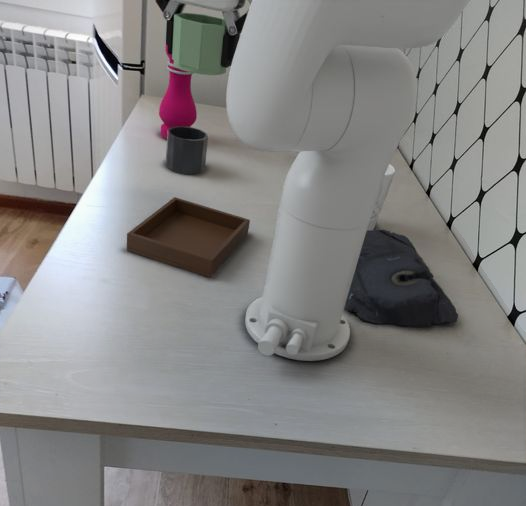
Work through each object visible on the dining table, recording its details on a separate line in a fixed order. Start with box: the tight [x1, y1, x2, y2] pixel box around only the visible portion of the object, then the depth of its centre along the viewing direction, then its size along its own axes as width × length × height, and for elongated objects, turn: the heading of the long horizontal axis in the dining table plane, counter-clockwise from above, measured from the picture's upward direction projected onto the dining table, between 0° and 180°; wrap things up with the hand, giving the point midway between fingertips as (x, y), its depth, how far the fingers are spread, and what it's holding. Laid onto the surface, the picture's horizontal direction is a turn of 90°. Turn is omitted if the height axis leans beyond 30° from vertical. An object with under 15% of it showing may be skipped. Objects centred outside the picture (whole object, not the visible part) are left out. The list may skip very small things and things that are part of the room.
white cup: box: [367, 163, 396, 231], centre depth 94 cm, size 8×8×10 cm
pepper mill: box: [158, 44, 198, 140], centre depth 110 cm, size 7×7×20 cm
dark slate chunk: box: [344, 228, 459, 328], centre depth 82 cm, size 15×22×5 cm
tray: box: [126, 197, 251, 278], centre depth 82 cm, size 14×12×3 cm
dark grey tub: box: [165, 126, 209, 176], centre depth 103 cm, size 7×7×6 cm
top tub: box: [172, 12, 229, 76], centre depth 79 cm, size 7×7×6 cm
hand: (200, 58), depth 80 cm, fingers closed on top tub, 7 cm apart
